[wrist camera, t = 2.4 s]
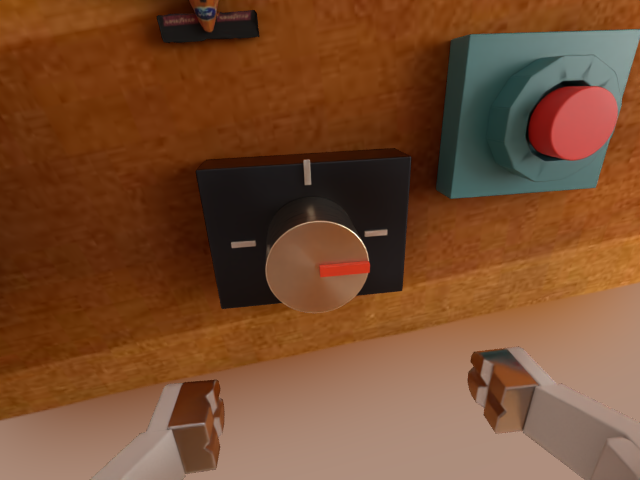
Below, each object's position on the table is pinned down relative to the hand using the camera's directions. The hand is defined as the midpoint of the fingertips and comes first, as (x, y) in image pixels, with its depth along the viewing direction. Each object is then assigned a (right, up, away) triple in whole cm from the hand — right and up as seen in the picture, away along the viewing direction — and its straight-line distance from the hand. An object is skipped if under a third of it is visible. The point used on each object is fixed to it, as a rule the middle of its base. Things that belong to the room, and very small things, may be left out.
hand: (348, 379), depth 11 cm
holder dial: (-1, +5, +10) cm, 11 cm away
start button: (+12, +11, +8) cm, 18 cm away
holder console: (-2, +6, +12) cm, 14 cm away
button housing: (+12, +12, +11) cm, 21 cm away
